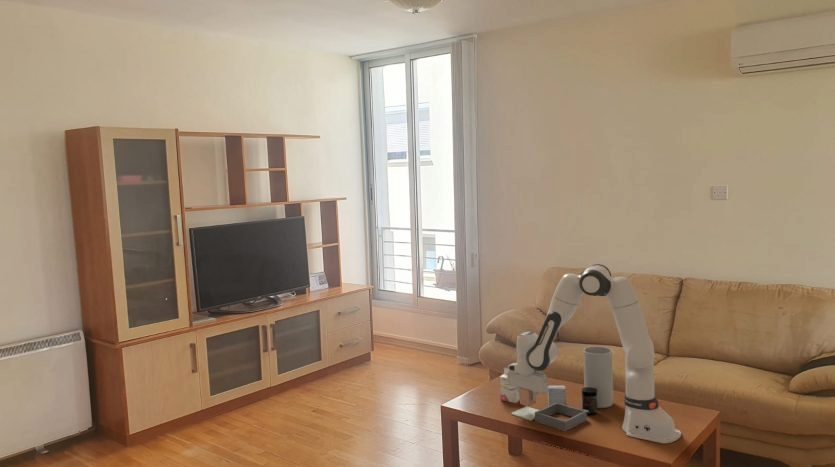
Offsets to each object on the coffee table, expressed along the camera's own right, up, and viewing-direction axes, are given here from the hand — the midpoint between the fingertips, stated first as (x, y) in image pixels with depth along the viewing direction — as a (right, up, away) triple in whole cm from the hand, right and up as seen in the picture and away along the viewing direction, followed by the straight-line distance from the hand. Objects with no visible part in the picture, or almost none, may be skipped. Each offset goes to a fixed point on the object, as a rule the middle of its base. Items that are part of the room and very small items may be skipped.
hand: (527, 398), depth 274 cm
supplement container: (+27, -6, -1) cm, 28 cm away
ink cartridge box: (-5, -6, +19) cm, 20 cm away
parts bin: (+13, -7, -9) cm, 17 cm away
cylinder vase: (+34, -5, +9) cm, 36 cm away
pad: (0, -7, +1) cm, 7 cm away
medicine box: (+15, -6, +10) cm, 19 cm away
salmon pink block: (0, -2, 0) cm, 2 cm away
